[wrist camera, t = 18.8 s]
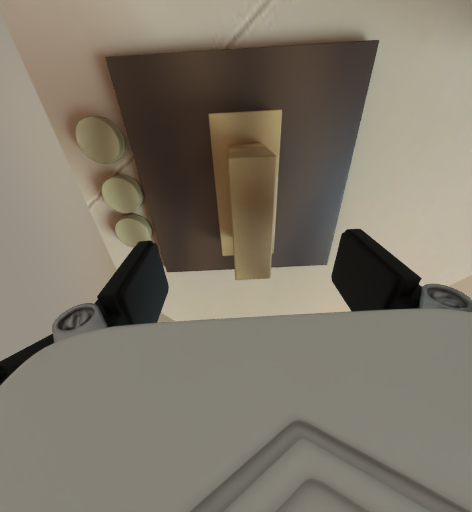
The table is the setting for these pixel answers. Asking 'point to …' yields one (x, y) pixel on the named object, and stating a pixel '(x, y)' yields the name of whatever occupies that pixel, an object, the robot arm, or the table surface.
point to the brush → (247, 186)
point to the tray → (241, 100)
